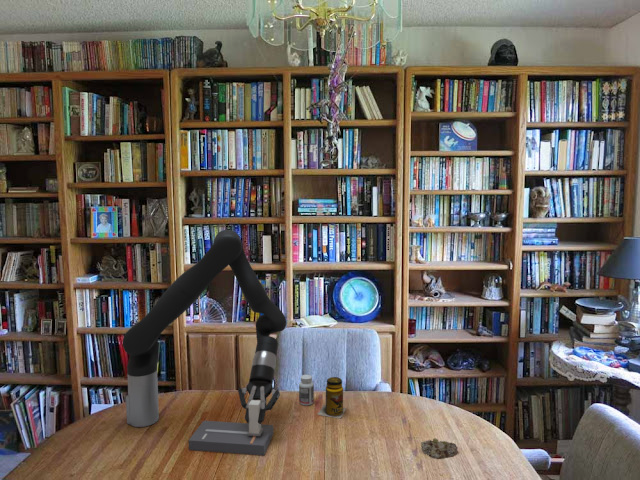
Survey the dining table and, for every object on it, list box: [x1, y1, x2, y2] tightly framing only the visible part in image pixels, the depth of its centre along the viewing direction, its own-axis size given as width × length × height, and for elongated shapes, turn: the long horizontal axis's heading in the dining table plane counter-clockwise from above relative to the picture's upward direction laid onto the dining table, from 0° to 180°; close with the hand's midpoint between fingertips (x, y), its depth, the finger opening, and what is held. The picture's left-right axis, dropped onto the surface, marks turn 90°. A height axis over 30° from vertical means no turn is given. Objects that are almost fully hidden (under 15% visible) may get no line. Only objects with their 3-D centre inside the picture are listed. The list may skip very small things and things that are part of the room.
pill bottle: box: [298, 374, 315, 406], centre depth 169 cm, size 5×5×10 cm
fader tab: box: [247, 400, 263, 436], centre depth 141 cm, size 4×4×10 cm
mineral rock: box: [420, 437, 458, 459], centre depth 137 cm, size 11×4×8 cm
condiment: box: [317, 376, 347, 419], centre depth 161 cm, size 7×8×12 cm
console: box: [188, 420, 274, 456], centre depth 143 cm, size 23×12×3 cm, turn 83°
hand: (253, 422), depth 140 cm, fingers closed on fader tab, 3 cm apart
